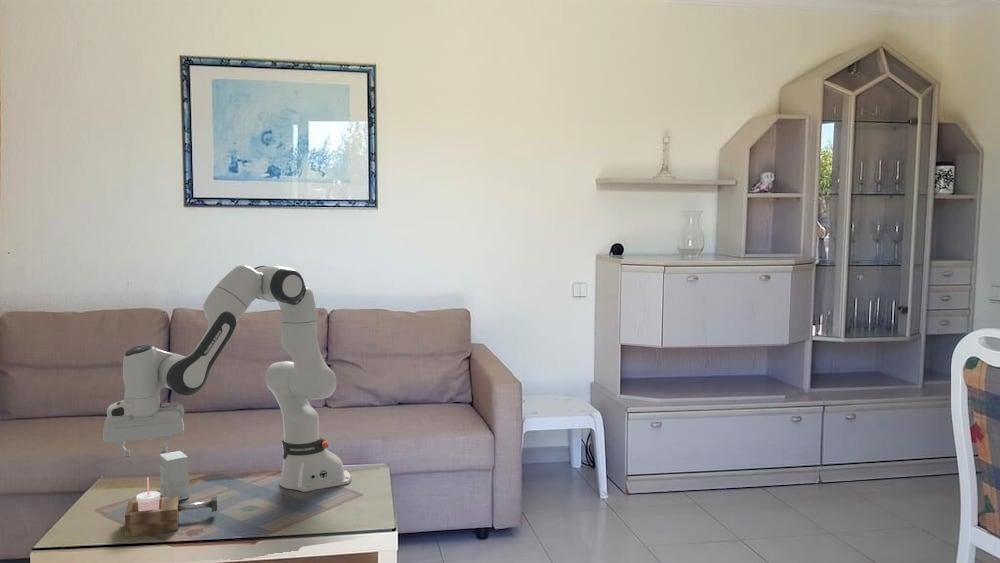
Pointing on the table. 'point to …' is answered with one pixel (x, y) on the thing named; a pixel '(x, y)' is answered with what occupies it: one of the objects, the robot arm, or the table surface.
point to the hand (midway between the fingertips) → (145, 454)
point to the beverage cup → (148, 499)
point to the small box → (174, 475)
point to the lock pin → (200, 505)
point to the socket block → (152, 517)
